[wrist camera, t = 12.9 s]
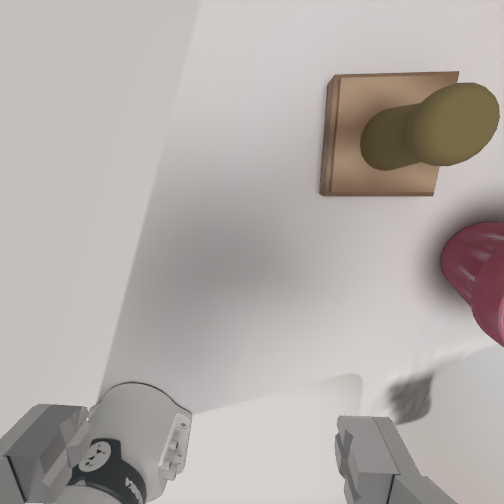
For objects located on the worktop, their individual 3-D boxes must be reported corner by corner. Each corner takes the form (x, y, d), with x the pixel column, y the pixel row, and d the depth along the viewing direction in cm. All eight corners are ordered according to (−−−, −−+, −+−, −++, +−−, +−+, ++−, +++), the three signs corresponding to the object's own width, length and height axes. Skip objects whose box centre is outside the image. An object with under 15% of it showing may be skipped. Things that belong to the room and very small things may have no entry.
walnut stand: (417, 193, 32) (437, 196, 28) (319, 193, 33) (326, 196, 29) (438, 81, 28) (465, 68, 24) (327, 84, 29) (336, 71, 25)
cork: (360, 175, 28) (416, 179, 17) (358, 114, 26) (419, 78, 16) (419, 165, 27) (513, 164, 17) (421, 102, 25) (528, 56, 15)
